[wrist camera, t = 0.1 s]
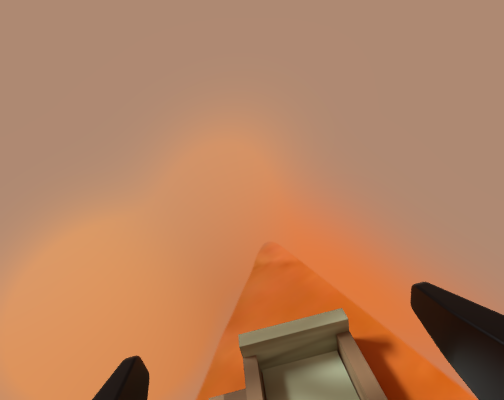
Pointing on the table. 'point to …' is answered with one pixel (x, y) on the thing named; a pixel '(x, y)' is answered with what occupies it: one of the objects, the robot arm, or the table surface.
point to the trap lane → (305, 362)
